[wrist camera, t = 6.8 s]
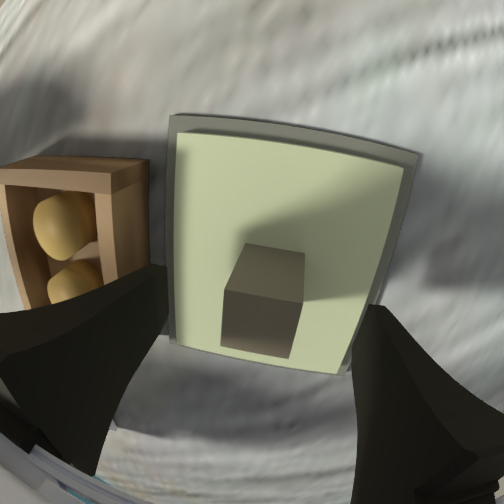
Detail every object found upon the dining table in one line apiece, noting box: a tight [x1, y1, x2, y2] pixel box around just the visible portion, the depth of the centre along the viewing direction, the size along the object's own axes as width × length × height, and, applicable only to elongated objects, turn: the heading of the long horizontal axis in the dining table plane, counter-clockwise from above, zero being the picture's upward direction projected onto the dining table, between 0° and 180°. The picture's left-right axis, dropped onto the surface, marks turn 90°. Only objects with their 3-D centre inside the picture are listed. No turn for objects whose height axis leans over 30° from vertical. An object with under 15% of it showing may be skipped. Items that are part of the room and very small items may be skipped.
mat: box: [165, 115, 419, 376], centre depth 13 cm, size 12×10×1 cm
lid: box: [174, 132, 404, 374], centre depth 11 cm, size 11×9×4 cm
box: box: [0, 156, 150, 310], centre depth 13 cm, size 10×8×3 cm
